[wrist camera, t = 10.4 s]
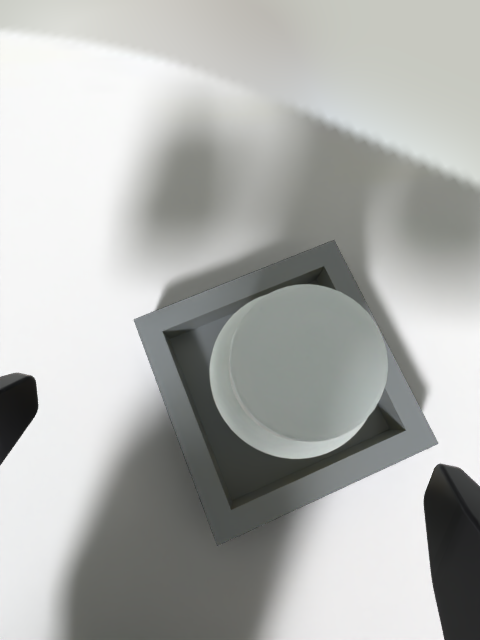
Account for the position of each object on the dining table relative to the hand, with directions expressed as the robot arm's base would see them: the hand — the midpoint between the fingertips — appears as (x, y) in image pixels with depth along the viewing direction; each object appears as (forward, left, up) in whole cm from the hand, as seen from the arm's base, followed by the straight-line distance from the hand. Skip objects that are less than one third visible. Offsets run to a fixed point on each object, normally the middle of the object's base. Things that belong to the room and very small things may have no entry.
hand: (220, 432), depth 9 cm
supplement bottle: (+1, -3, -11) cm, 11 cm away
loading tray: (+1, -3, -11) cm, 11 cm away
